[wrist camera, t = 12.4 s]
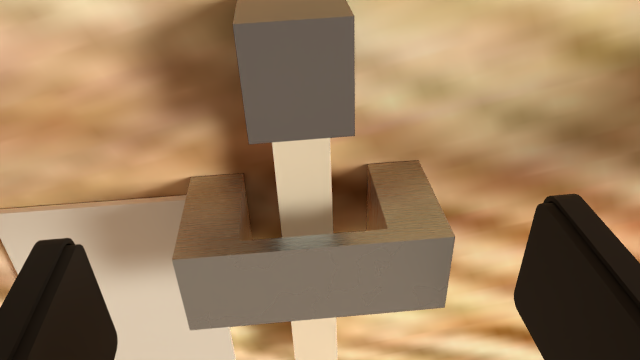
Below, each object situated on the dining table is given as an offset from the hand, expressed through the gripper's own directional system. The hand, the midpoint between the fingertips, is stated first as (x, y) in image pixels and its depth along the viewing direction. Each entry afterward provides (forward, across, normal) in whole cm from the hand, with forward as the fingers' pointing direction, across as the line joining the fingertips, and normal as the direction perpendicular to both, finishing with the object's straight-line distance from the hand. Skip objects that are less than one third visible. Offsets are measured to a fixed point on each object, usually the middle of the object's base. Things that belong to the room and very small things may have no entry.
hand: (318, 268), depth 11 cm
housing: (+13, 0, +8) cm, 15 cm away
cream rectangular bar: (+13, 0, +8) cm, 15 cm away
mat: (+13, +10, +17) cm, 23 cm away
